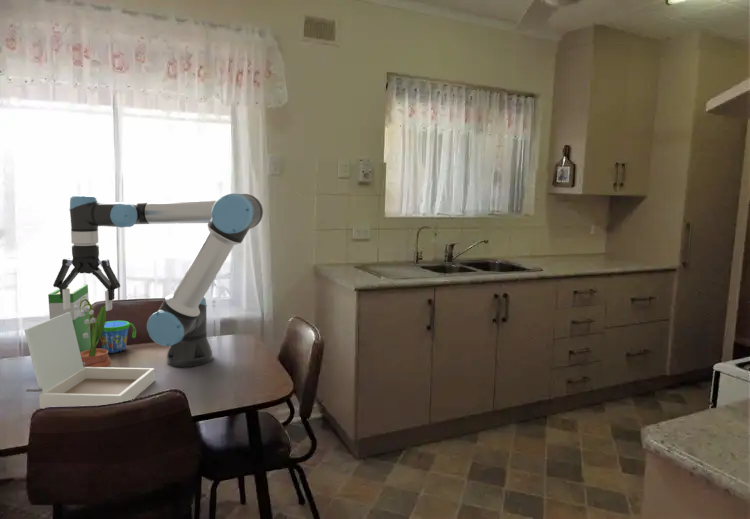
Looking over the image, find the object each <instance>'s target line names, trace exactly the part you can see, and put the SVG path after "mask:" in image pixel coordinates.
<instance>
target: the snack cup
mask: <svg viewBox="0 0 750 519" xmlns="http://www.w3.org/2000/svg"><path fill="white" fill-rule="evenodd" d="M130 327H131V328H132V334H131V338H132V339H136V337H137V329H136V327H135V325H134V324H133V323H130V322H129V321H126V320H110V321H109V320H108V321H106V322H105V325H104V329H103V332H102V334H101V336H100V338H99V340H100V342H101V347H102V348H101V349H106V350H108V354H115V353H120V352H123V351H122V350H124V351H125V349H127V348H126V347H127V342H128V335H129V334H128V332H129V328H130ZM119 351H120V352H119Z"/></svg>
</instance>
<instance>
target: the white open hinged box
mask: <svg viewBox="0 0 750 519" xmlns="http://www.w3.org/2000/svg"><path fill="white" fill-rule="evenodd" d="M23 331H24V334H25V339H26V342H27V345H28V350H29V354H30V355H29V356H30V359H31V362H32V366H33V370H34V374H35V378H36V382H37V385H38V388H26V389H25V391H26V392H29V393H31V392H37V393H38V392H39V394H38V399H39V409H43V408H42V407H51V406H81V405H104V404H110V403H117V402H123V401H127V400H131V399H133V400H134V399H136V397H138V396H140V395H141V393H143V392H144V390H146V389H147V388H148V387H149V386H150V385H152V384H153V383H154V382H156V381H155V380H156V376H155V375H156V373H155V370H156V369H155V368H154V367H152V368H151V367H110V366H109V367H83V365H85V363H82V359H81V354H80V350H79V346H78V342H77V338H76V333H75V329H74V325H73V321H72V317H71V312H67V313H65V314H62V315H60V316H57V317H55V318H52V319H50V318H49V319H48V320H45V321H43V322H40V323H37V324H35V325H32V326H30V327H28V328H25V329H23Z"/></svg>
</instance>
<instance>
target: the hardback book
mask: <svg viewBox="0 0 750 519" xmlns="http://www.w3.org/2000/svg"><path fill="white" fill-rule="evenodd" d="M67 288H70V305H71V308H69V309H66V310H63V299H61V298H60V289H59V288H57V289H56V290H54V291H51V292H50V293H48V299H47V300H48V311H49V320H50V319H52V318H55V317H57V316H60V315H62V314H65V313H67V312H71V317H72V321H73V325H74V329H75V333H76V338H77V342H78V346H79V350H80V352H83V351H86V350H90V349H91V324H90V323H91V322H90V319H91V318H90V317H91V316H90V315H88V314H90V307H89V305H87V304H88V303H86V306H85V307H87V308H88V310H89V311H88V312H86V313H84V314H85V316H82V317H79V315H78V313H79V312H80V309H81V311H83V310H82V308H84V307H83V306H84V304H85V302H87V301H83V302H82V304H81V308H80V309H79V308H78V310H77V309H76V310H74V306H76V305H77V306H78V307H79V306H80V303H79V302H81V301H82V300H83V299H87V300H88V301H89V302H90V300H89V285H88V284H84V285H82V286H69V285H68V286H67ZM83 297H86V298H83ZM81 298H82V299H81ZM80 299H81V301H80ZM86 316H87V319H88V320H89V323H88V324H90V325H88V324H84V323H85V322H84V320H86ZM87 325H88V326H87ZM86 327H87V328H86ZM85 330H86V332H85ZM84 333H88V336H89V337H88V338H83V334H84Z"/></svg>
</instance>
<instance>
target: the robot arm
mask: <svg viewBox="0 0 750 519" xmlns="http://www.w3.org/2000/svg"><path fill="white" fill-rule="evenodd" d="M97 198H98V197H97V196H94V195H72V196H71V197H70V198H69V212H70V213H69V214H70V216H69V217H70V230H71V231H70V235H71V236H70V237H71V238H70V240H71V244H72V245H71V256H72V259H71V258H70V257H68V258H67V257H66V258H63V259H62V262H61V264H62V265H61V268H60V269H59V271H58V274H57V276H56V278H55V280H54V282H53V287H54V288H57V289H60V298H61V299H63V310H66V309H69V308H71V305H70V288H67V286H68V287H69V285H70V284H71V283H72V282H73V281H74V280H75V278H76V277H77V276H78V274H89V275H90V274H92V275H93V276H95V278H96V279H98V281H99V282H100V283H101V284H102V286H104V287H105V289H106V290H104V297H105V301H104V302H105V307H106V312H108V311H111V310H113V300H115V299H116V298H115V290H116V289H119V288H121V284H120V282H119V280H118V278H117V276H116V274H115V273H114V271H113V269H112V267H111V264H110V260H109V259H107V258H106V259H104V260H101V259H100V258H99V257H100V249H99V248H100V247H99V244H98V243H99V227H112V228H114V227H115V228H120V229H121V228H131V227H133V226H134V225H157V224H158V225H159V224H160V225H161V224H163V225H164V224H167V225H168V224H174V225H175V224H207V228H208V234H207V235H206V237H205V239H203V241H202V243H201V245H200V247H199V249H198V251H197V252H196V254H195V256H194V257H193V260H192V261H191V263H190V265H189V266H188V268H187V270H186V271H185V273H184V274H183V276H182V278H181V280H180V281H179V284H178V285H177V287H176V289H175V290H174V292H173V293H172V294H169V295H166V297H165V298H164V299H163V301H162V303H161V304H160V307H159V308H158V310H156V311H155V312H153V313H152V314H151V315H150V316H149V317H148V320H147V323H146V331H147V333H148V336H149V338H150V339H151V340H152V341H153V342H154V343H156V344H158V345H159V346H162V347H169V348H168V351H167V355H166V364H168V365H169V366H173V367H180V368H181V367H182V368H184V367H185V368H187V367H196V366H201V365H204V364H207V363H209V362H211V361H212V360H213V350H212V348H211V345H210V343H209V339H208V331H207V330H208V325H207V324H208V323H207V320H208V318H207V306H208V305H207V300H206V297H205V296H206V294H207V292H208V291H209V289H210V287H211V286H212V284H213V282H214V280H215V279H216V277H217V275H218V273H219V272H220V270H221V268H222V267H223V265H224V263H225V261H226V259H227V258H228V257H229V254H230V253H231V251H232V249H233V248H234V246H236V245H239V244H242V242H243V241H244V240H245V237H246V235H247V234H248V232H249V230H250V229H253V228H255V227H256V226H258V225H259V224H260V222H261V221H262V218H263V214H264V208H263V205H262V203H261V201H260V200H259V198H257V197H255V196H254V195H252V194H248V193H229V194H226V195H223V196H221V197H220V198H218V199H217V200H179V201H178V200H173V201H172V200H171V201H168V200H167V201H132V202H131V201H130V202H99V201H98V199H97ZM71 266H73V269H72V270H71V271H70V273H69V274H68V275H67V273H68V272H69V269H70V267H71ZM99 266H101V267H102V269H103V272H104V273H105V274H104V273H103V272H102V269H101V268H100V267H99Z"/></svg>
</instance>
